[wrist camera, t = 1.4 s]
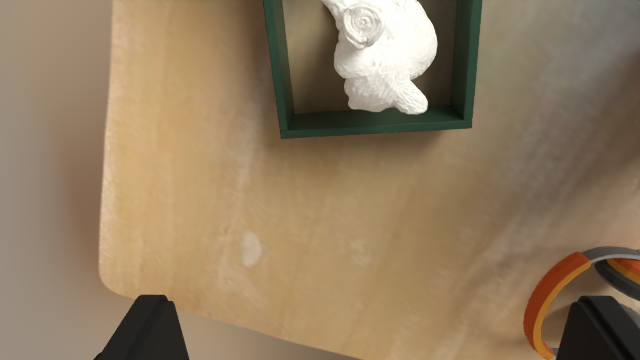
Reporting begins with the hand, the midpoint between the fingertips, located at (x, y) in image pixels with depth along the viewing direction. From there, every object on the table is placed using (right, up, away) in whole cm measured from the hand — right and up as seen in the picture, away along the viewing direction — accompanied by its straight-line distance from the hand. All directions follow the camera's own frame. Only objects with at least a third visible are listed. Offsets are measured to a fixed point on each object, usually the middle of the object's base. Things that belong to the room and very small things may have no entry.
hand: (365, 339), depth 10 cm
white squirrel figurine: (+2, +15, +20) cm, 25 cm away
